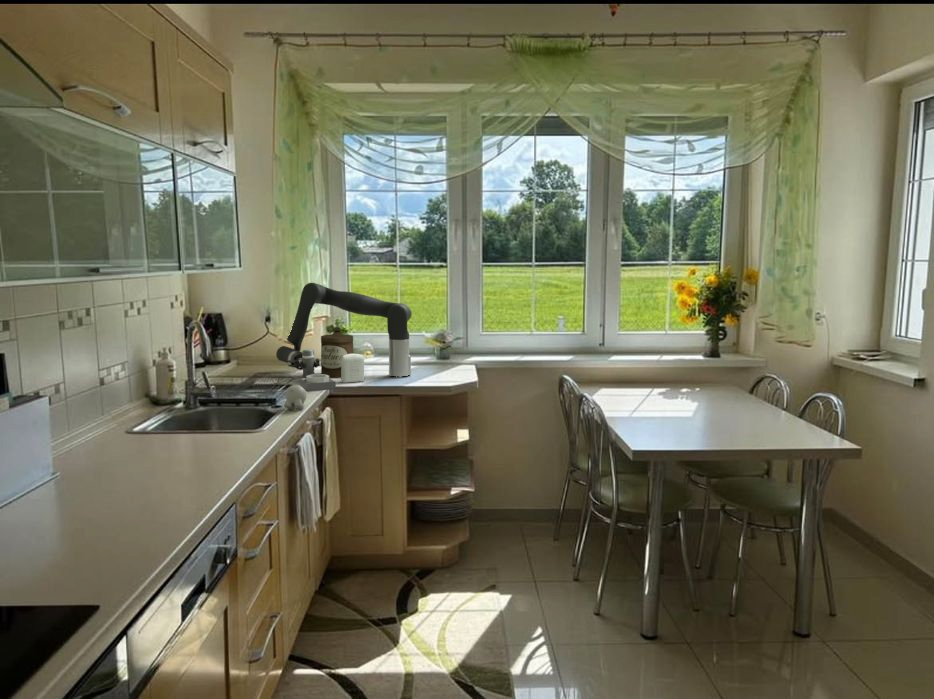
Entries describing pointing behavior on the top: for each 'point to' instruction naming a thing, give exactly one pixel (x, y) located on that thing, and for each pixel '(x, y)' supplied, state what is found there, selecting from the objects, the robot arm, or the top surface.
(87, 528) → the top surface
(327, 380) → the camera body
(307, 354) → the grey bottle
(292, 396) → the chubby cartoon animal
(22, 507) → the top surface
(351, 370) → the photo printer
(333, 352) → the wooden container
